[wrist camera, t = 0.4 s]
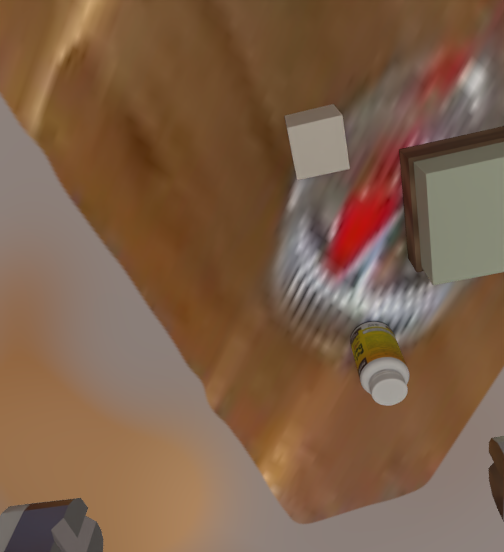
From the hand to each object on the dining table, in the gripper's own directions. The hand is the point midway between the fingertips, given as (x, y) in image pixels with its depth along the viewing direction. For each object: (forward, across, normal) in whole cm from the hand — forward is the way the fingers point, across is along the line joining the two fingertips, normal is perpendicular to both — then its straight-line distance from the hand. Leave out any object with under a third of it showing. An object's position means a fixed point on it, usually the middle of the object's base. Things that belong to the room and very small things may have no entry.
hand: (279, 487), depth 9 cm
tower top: (+40, -19, +13) cm, 47 cm away
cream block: (+44, -4, +4) cm, 44 cm away
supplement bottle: (+44, -7, +30) cm, 54 cm away
